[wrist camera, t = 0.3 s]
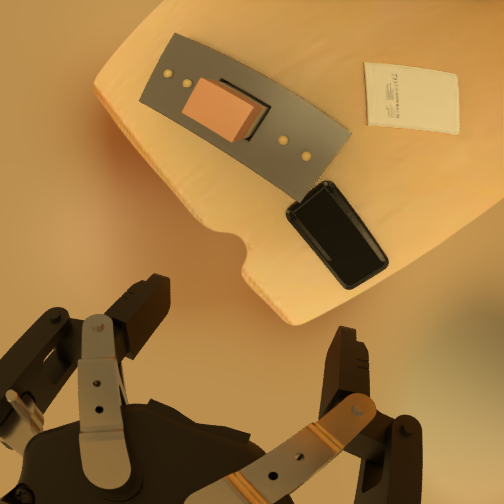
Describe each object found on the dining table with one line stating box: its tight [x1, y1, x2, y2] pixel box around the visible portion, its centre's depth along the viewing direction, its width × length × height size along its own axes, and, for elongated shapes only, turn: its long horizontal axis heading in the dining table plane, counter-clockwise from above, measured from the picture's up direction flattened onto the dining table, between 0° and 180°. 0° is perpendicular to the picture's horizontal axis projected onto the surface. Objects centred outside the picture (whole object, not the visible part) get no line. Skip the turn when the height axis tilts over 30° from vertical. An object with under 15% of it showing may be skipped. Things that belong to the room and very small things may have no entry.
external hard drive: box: [364, 62, 460, 135], centre depth 28 cm, size 2×8×12 cm
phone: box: [286, 181, 389, 290], centre depth 39 cm, size 8×1×15 cm
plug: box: [182, 77, 272, 143], centre depth 30 cm, size 4×6×11 cm, turn 58°
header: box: [139, 33, 352, 203], centre depth 32 cm, size 10×24×6 cm, turn 58°
